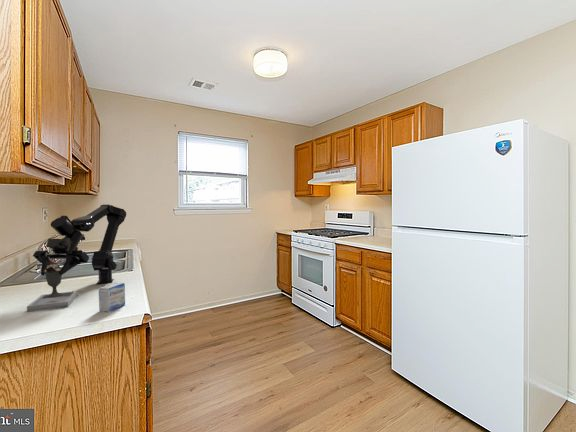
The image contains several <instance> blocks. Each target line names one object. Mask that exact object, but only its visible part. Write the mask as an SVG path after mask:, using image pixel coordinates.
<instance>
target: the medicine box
mask: <svg viewBox="0 0 576 432" xmlns="http://www.w3.org/2000/svg"><path fill="white" fill-rule="evenodd" d="M125 286H126V284H125V282H114V283H113V282H112V283H109V284H107V285H105V286H102V287H99V288H98V310H99V312H106V313H107V312H108V313H110V312H112V311H114V310H116V309H118V308H122V307H123V306H125V305H126V293H125V292H126V287H125Z"/></svg>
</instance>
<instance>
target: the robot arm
mask: <svg viewBox="0 0 576 432" xmlns="http://www.w3.org/2000/svg"><path fill="white" fill-rule="evenodd" d="M105 216H106V221H107V227H106V229H105V233H104V237H103V239H102V241H101V245H100V248H99V249H98V251H94V252H93V254H92V258H91V265H92V270H93V271H97V273H98V281H97V282H96V284H97V285H100V284H108V283H109V284H112V283H113V281H114V280H115V279H114V278H113V271H115V270H116V269H117V263H116V262H115V260H114V254H113V252H112V250H113V247H114V244H115V240H116V237H117V234H118V230H119V227H120V225H121V224H123V222H125V219H126V217H127V211H125V209H124V208H121V207H117V206H115V205H112V204H100V206H99V207H98V208H96V209H94V210H93V211H91V212H90V213H88V214H86V215H84V216H78V217H76V218H73V219H72V220H71V219H70V218H69V216H67V215H61V216H60V217H57V218H55V219H54V220H52V221H51V222H50V227H51V228H52V229H53V230H54V231H55V232H56V233H57V234H58V235H60V236H61V237H63V238H48V239H47V241H46V246H45V247H46V248H48V249H51V251H52V253H50V252H49V251H48V250H35V252H33V255H32V257H34V259H36V260H37V262H39V263H41V268H40V270H41V271H40V275H41V276H45V273H44V272H43V271H44V270H45V269H46V268H47V266H48V265H49V264H50V262H52V261H53V262H54V260H53V257H54V259H55V260H65V262H64V264H63V265H62V267H61V268H62V269H61V271H60V273H59V274H60V275H62V276H63V275H64V274H65V273H67V272H68V271H70V270H72V269H73V268H75V267H76V266H78V265H81V264H85V263H86V264H87V263H88V262H89V260H90V257H89V255H88V254H87V252H85V251H84V249H79V247H78V245H79V244H80V242H81V241H86V237H85V235H84V232H85V233H86V232H87V233H88V232H90V231H91V230H92V229H93V228H94V227H95V224H96V222H98V221H100V220H101V219H103V218H104V217H105ZM82 232H83V233H82Z"/></svg>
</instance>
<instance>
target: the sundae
mask: <svg viewBox="0 0 576 432" xmlns="http://www.w3.org/2000/svg"><path fill="white" fill-rule="evenodd" d="M61 269H62V267H60V265H59V264H58V263H57V262H56V259H54V257H53V261H52V262H50V264H49V265H48V266H47V268H46V269H45V270H44V271H43V272H44V273H45V274H44V276H45V279H46V283H47V285H48V286H49V287H51V288H52V292H51V293H49V294H50V295H47V297H57V296H61V295H62V293H63V292H58V290H57V287H58V286H59V285H60V284H61V282H62V276H63V275H60V274H59V273H60V271H61Z"/></svg>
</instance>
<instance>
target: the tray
mask: <svg viewBox="0 0 576 432" xmlns="http://www.w3.org/2000/svg"><path fill="white" fill-rule="evenodd" d="M61 293H62V295H61V296H57V297H47V295H50V294H51V293H46V294H41V295H40V296H38V297H37V298H36V299H34V300H33V301H32V302H30V303H29V304H28V305H27V306H26V313H29V312H36V311H45V310H52V309H60V308H62V309H63V308H69V306H70V305H72V303H73V302H74V300H75V299H76V298H77V297H78V290H76V291H75V290H74V291H65V292H61Z"/></svg>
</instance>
